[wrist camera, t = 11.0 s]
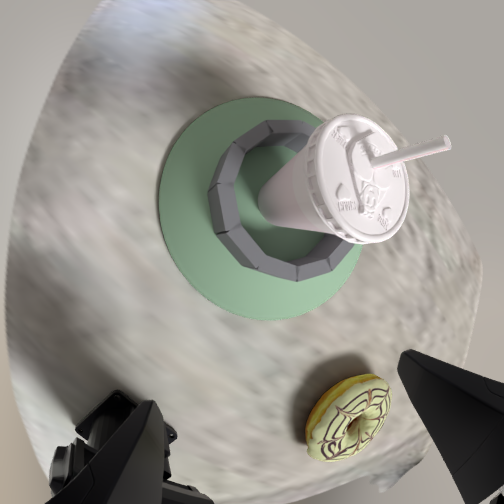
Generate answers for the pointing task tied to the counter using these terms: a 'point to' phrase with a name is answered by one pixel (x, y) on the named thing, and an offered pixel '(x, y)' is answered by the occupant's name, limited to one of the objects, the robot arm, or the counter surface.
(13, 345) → the counter surface
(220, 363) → the counter surface
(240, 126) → the putting green cup
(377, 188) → the smoothie
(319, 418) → the decorated donut
